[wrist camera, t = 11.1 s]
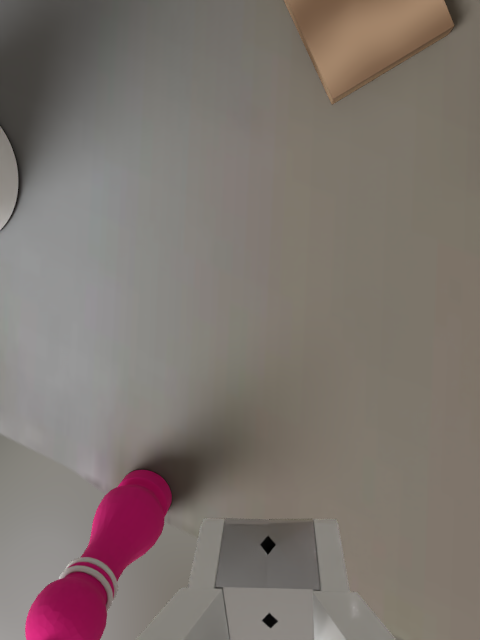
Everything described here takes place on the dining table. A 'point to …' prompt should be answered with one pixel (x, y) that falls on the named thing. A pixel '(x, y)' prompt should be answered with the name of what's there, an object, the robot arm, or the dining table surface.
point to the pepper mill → (102, 561)
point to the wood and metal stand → (365, 37)
